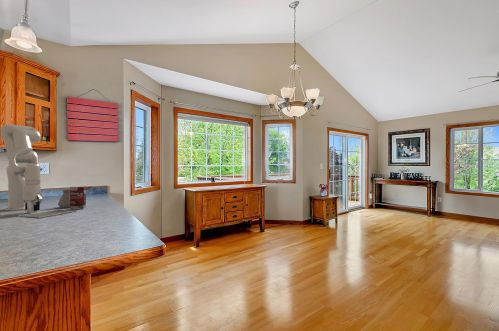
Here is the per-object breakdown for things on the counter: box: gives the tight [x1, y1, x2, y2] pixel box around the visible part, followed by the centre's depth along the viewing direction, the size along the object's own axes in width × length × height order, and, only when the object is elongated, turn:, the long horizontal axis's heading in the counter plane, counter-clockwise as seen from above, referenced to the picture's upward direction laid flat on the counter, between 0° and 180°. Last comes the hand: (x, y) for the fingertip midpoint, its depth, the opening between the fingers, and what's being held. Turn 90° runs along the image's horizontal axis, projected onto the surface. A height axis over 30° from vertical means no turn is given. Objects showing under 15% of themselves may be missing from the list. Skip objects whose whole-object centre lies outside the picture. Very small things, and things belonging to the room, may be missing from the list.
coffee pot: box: [57, 186, 93, 209], centre depth 184 cm, size 21×12×15 cm, turn 123°
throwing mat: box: [17, 209, 77, 219], centre depth 155 cm, size 18×22×1 cm
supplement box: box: [69, 186, 87, 211], centre depth 174 cm, size 9×5×16 cm, turn 105°
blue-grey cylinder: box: [26, 201, 38, 214], centre depth 159 cm, size 5×5×8 cm
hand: (32, 210), depth 159 cm, fingers open, 6 cm apart
